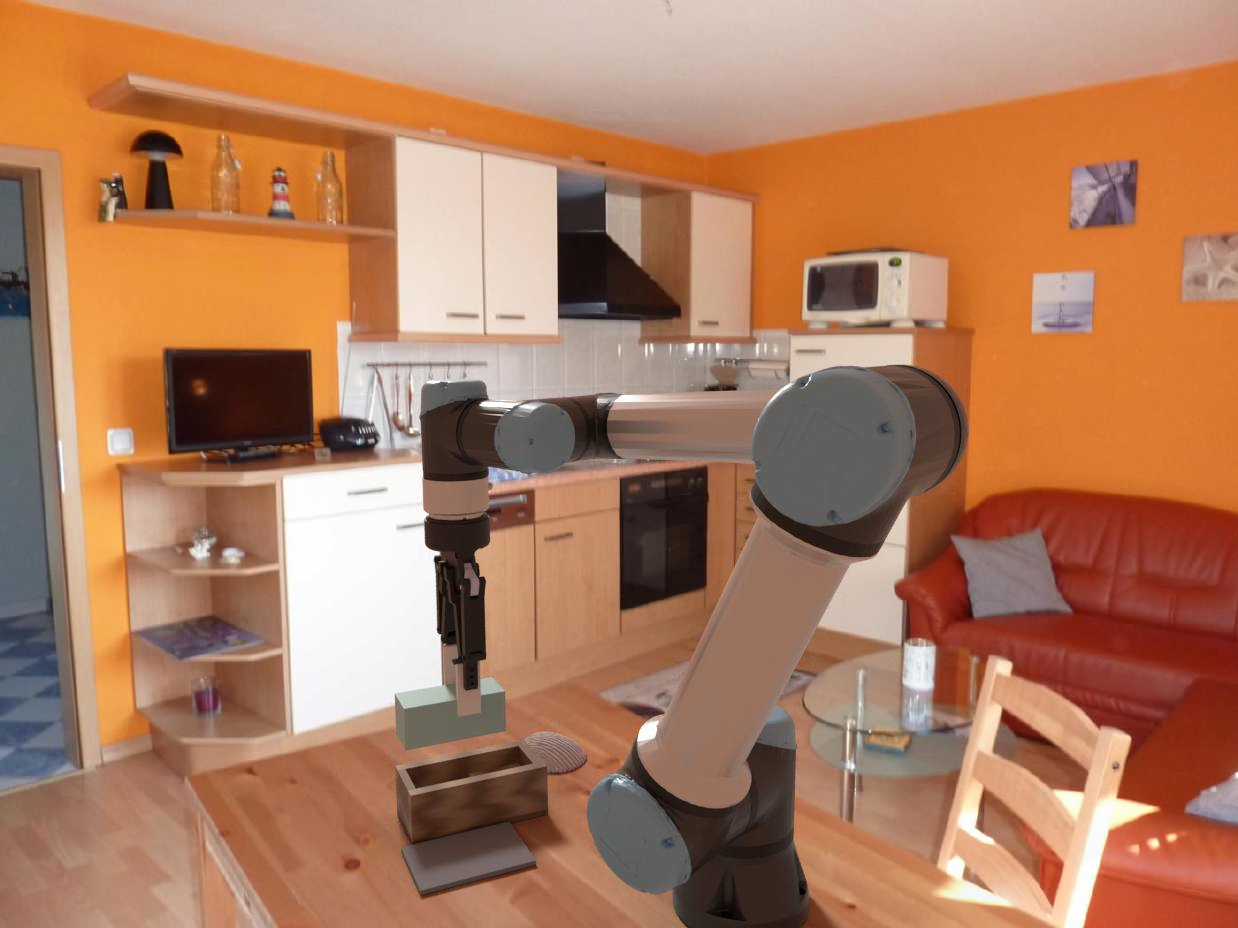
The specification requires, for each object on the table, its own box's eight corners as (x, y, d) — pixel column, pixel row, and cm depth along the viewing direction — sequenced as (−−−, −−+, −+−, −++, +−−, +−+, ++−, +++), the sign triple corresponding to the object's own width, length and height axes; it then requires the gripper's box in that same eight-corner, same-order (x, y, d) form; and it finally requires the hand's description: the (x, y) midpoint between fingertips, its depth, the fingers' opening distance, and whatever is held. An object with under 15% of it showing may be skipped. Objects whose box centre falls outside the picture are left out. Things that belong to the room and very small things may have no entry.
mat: (536, 864, 111) (535, 860, 111) (420, 895, 105) (420, 890, 105) (509, 825, 120) (509, 821, 120) (401, 851, 114) (401, 847, 114)
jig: (525, 784, 131) (524, 739, 130) (548, 814, 123) (547, 765, 122) (397, 813, 123) (395, 765, 122) (412, 846, 115) (410, 795, 114)
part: (493, 715, 115) (492, 677, 114) (506, 730, 110) (505, 690, 109) (396, 733, 109) (394, 693, 109) (405, 750, 105) (403, 708, 104)
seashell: (517, 726, 144) (579, 711, 144) (525, 758, 145) (587, 744, 145) (511, 754, 134) (578, 738, 134) (520, 789, 134) (587, 773, 134)
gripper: (513, 524, 100) (517, 727, 103) (466, 498, 116) (471, 674, 120) (445, 530, 97) (451, 740, 100) (407, 503, 113) (413, 684, 116)
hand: (462, 704), depth 110 cm, fingers closed on part, 5 cm apart
